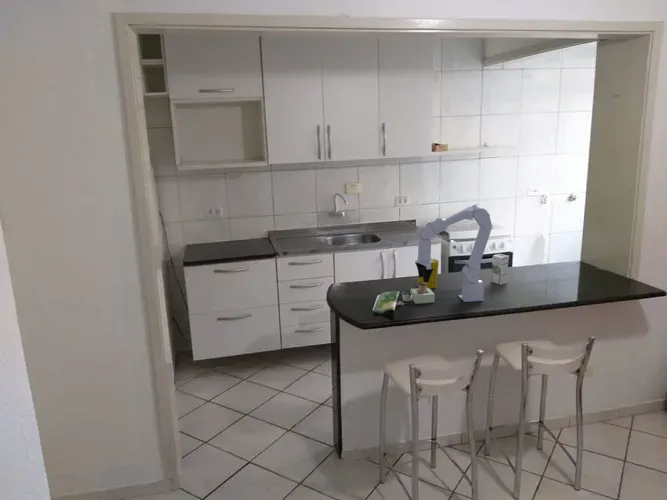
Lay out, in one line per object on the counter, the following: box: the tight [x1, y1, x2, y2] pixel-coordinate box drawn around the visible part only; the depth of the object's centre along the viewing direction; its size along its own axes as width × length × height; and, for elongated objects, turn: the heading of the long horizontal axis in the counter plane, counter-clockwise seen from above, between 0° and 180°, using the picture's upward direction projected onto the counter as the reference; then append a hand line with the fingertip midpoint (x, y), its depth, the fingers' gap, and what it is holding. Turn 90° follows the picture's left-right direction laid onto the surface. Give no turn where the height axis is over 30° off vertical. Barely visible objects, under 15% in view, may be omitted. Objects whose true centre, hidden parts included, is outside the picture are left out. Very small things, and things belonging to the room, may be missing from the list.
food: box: [417, 257, 439, 289], centre depth 264 cm, size 15×12×10 cm
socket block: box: [409, 287, 436, 305], centre depth 248 cm, size 9×9×4 cm
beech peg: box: [418, 282, 426, 294], centre depth 248 cm, size 4×4×8 cm
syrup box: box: [490, 253, 510, 286], centre depth 267 cm, size 6×6×14 cm
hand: (423, 279), depth 246 cm, fingers open, 7 cm apart
